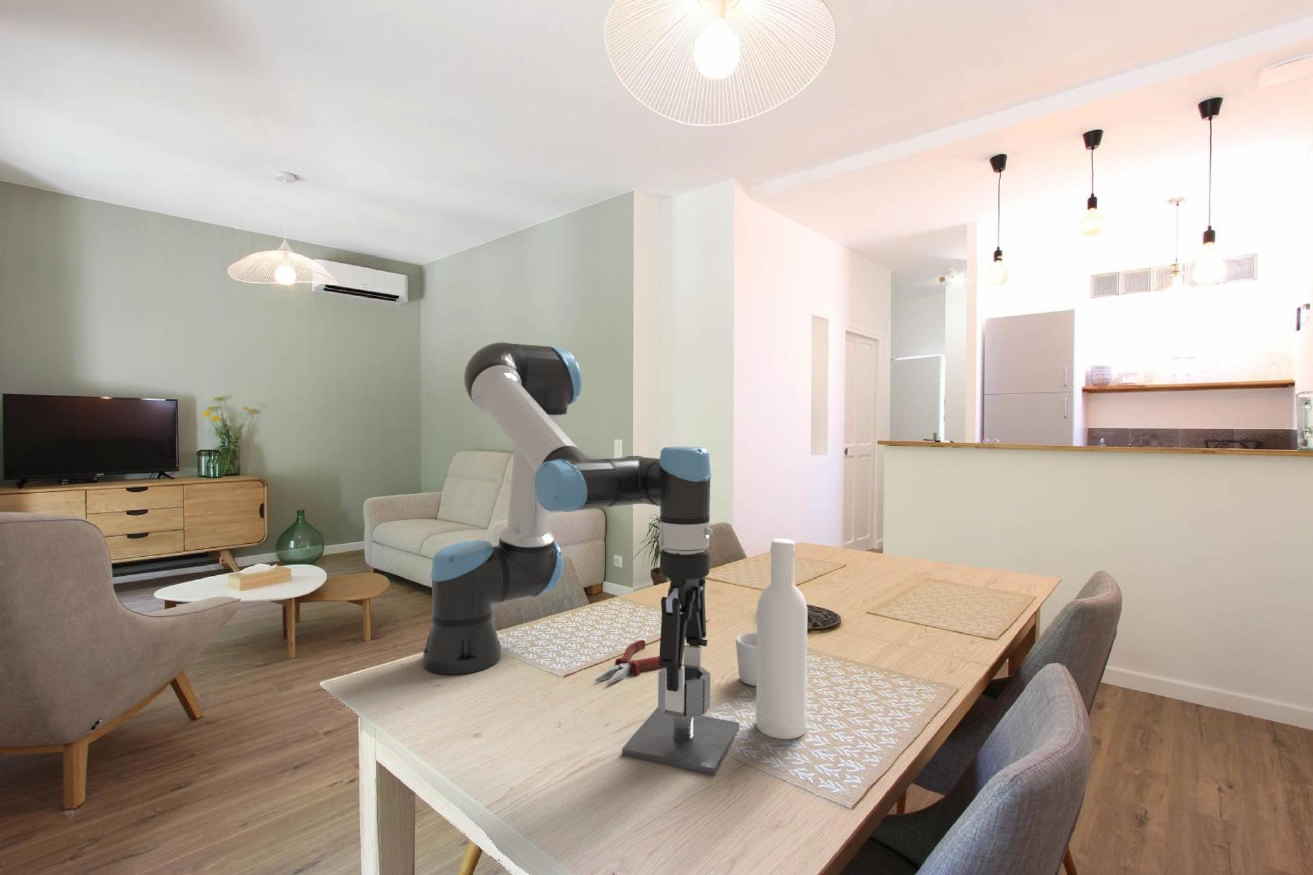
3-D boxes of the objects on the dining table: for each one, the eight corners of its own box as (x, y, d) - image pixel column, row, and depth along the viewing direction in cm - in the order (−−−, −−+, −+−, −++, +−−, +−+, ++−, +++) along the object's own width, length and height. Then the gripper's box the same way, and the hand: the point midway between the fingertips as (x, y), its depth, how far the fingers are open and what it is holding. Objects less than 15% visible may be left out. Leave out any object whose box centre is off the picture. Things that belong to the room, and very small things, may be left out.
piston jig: (622, 754, 90) (622, 700, 90) (657, 712, 103) (657, 665, 103) (714, 775, 85) (715, 718, 85) (739, 728, 98) (739, 679, 98)
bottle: (816, 736, 96) (818, 544, 95) (770, 743, 93) (772, 546, 93) (790, 712, 103) (792, 535, 103) (747, 719, 101) (749, 537, 100)
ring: (651, 711, 92) (652, 677, 92) (670, 693, 98) (670, 661, 98) (699, 720, 89) (699, 686, 89) (714, 701, 96) (714, 669, 96)
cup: (796, 678, 117) (796, 636, 117) (790, 695, 110) (791, 651, 110) (740, 670, 121) (740, 629, 121) (731, 686, 113) (731, 643, 113)
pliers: (578, 680, 117) (578, 667, 117) (640, 648, 133) (640, 636, 133) (626, 696, 110) (626, 682, 110) (685, 660, 127) (685, 648, 127)
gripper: (686, 565, 82) (685, 734, 83) (726, 538, 101) (725, 676, 102) (634, 560, 85) (634, 724, 86) (683, 535, 104) (682, 669, 105)
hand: (683, 698), depth 94 cm, fingers closed on ring, 7 cm apart
